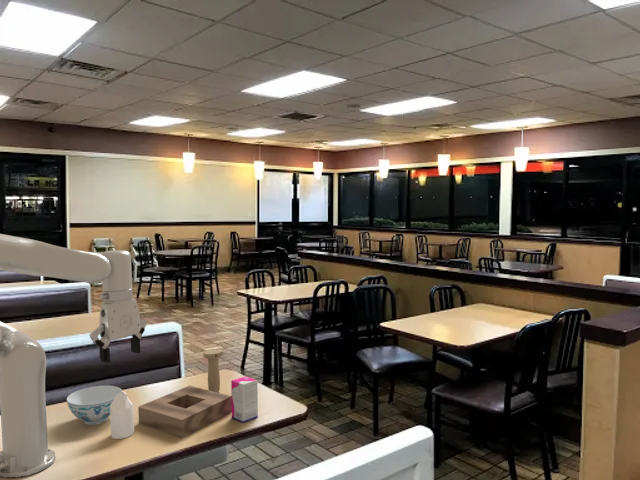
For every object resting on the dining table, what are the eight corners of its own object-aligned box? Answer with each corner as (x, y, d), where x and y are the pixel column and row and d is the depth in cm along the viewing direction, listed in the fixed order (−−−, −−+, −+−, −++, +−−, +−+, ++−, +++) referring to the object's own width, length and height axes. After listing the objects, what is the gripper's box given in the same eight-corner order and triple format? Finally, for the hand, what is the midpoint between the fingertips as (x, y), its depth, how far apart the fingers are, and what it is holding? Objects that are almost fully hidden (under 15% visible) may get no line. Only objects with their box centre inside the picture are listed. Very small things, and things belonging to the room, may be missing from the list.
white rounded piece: (108, 397, 136) (109, 390, 141) (110, 440, 137) (111, 431, 142) (132, 394, 138) (132, 387, 143) (134, 436, 139) (134, 428, 144)
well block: (182, 437, 138) (181, 420, 137) (138, 423, 147) (138, 406, 147) (231, 412, 155) (231, 396, 154) (190, 400, 164) (189, 385, 164)
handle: (226, 396, 168) (225, 351, 167) (207, 400, 164) (206, 355, 163) (220, 391, 172) (219, 348, 171) (202, 395, 168) (201, 351, 167)
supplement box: (258, 417, 151) (258, 379, 150) (243, 423, 147) (242, 385, 146) (246, 411, 155) (245, 375, 154) (230, 418, 151) (230, 380, 150)
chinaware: (59, 420, 150) (58, 395, 149) (109, 405, 161) (108, 382, 160) (80, 436, 139) (79, 409, 139) (132, 419, 150) (131, 393, 150)
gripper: (98, 302, 128) (101, 368, 130) (152, 291, 143) (155, 350, 144) (80, 300, 132) (83, 363, 134) (135, 289, 147) (138, 347, 148)
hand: (121, 357), depth 139 cm, fingers open, 9 cm apart
